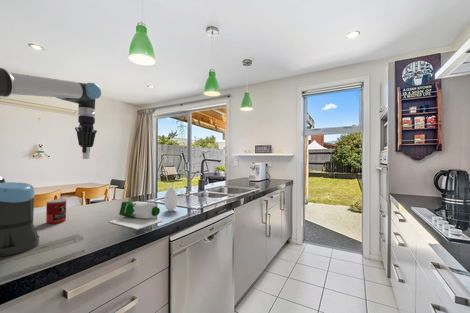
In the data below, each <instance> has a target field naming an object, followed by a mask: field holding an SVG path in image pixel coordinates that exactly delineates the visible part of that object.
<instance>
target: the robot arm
mask: <svg viewBox="0 0 470 313" xmlns="http://www.w3.org/2000/svg"><path fill="white" fill-rule="evenodd" d="M11 95H19V96H32V97H34V96H35V97H48V98H56V99H59V100H62V101H66V102H69V103H74V104H78V107H77V108H78V112H77V113H78V117H77V118H78V119H77V122H78V123H79V125H78V126H76V127H75V128H74V129H75V131H76V136H77V141H78V145H79V147H80V148H82V150H81V151H82V152H81V153H82V159H83V160H90V153H91V148H92V147H93V146H94V144H95V139H96V134H97V132H98V130H97V129H94V125H95V123H96V118H95V116H96V99H99V98H101V96H102V89H101V87H100V86H99V85H98V84H96V83H94V82H87V83H84V82H78V81H77V82H76V81H70V80H64V79H56V78H50V77H43V76H36V75H29V74H25V73H24V74H23V73H22V74H21V73H17V72H11V71H10V72H9V71H8V70H7V69H6V68H3V67H0V97H5V98H8V97H10V96H11ZM34 189H35V188H34V186H33V185H31V184H29V183H27V182H15V181H14V182H13V181H12V182H11V181H10V182H9V181H8V182H6V180H5V176H2V175H0V258H3V257H7V256H12V255H17V254H19V253H23V252H26V251H29V250H31V249H33V248H35V247H37V246H38V245H39V244H40V236H39V234H38V232H37V229H36V226H35V224H34V208H35V207H34V206H35V205H34V204H35V196H36V194H35V190H34Z"/></svg>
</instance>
